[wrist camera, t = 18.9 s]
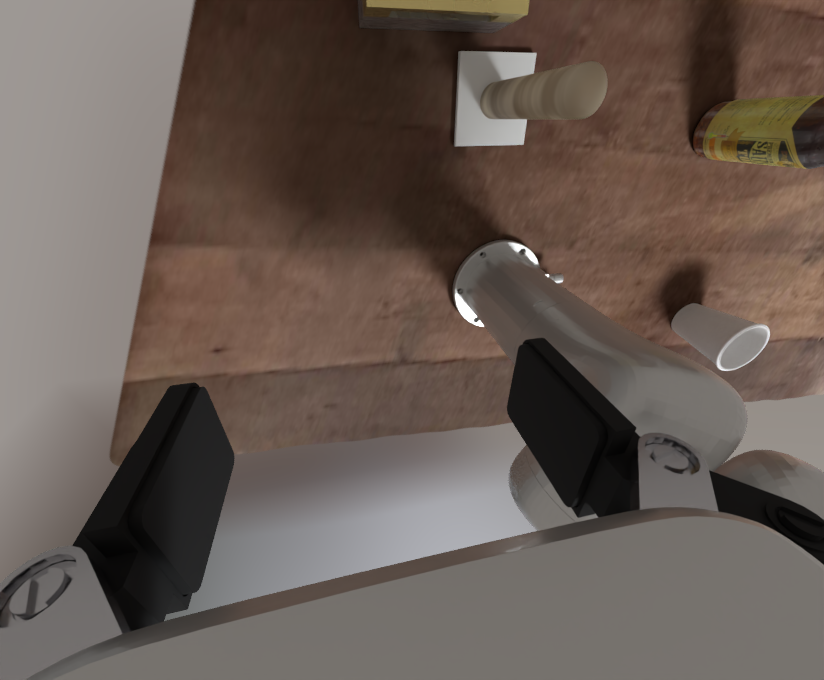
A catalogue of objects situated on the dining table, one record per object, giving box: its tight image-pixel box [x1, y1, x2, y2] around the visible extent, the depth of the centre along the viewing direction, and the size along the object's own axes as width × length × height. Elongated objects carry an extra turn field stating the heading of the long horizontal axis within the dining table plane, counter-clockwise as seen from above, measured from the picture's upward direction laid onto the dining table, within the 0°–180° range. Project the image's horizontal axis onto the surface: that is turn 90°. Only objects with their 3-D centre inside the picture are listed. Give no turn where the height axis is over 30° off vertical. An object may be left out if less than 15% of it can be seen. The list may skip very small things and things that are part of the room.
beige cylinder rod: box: [480, 61, 608, 119], centre depth 29 cm, size 3×3×15 cm
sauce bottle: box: [693, 95, 824, 169], centre depth 35 cm, size 7×6×20 cm
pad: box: [454, 51, 536, 146], centre depth 36 cm, size 8×8×1 cm
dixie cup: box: [671, 303, 770, 371], centre depth 55 cm, size 8×8×10 cm
